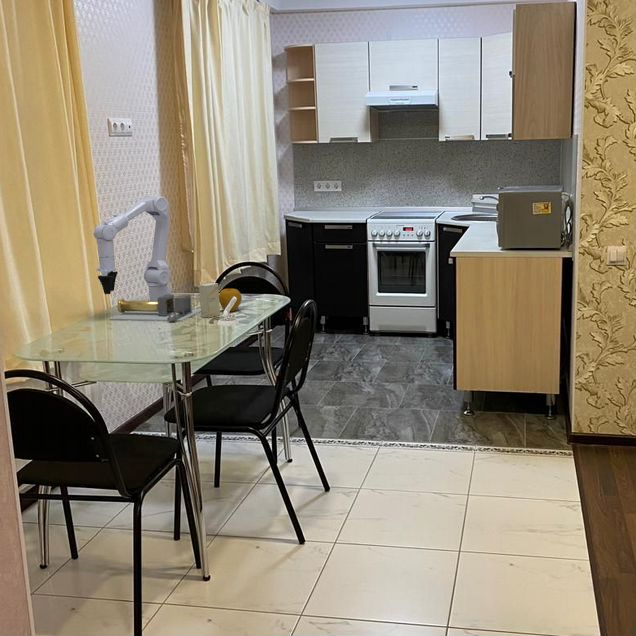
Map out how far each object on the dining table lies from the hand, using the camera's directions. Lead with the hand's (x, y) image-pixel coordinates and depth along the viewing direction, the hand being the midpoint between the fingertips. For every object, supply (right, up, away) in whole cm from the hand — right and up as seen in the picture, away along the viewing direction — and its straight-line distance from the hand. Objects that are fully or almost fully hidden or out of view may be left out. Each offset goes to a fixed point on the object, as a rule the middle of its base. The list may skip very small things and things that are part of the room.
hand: (109, 292), depth 313 cm
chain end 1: (+23, -7, +3) cm, 24 cm away
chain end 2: (+28, -9, -6) cm, 30 cm away
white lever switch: (+47, -12, -19) cm, 52 cm away
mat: (+18, -9, +1) cm, 20 cm away
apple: (+46, -7, +4) cm, 46 cm away
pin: (+13, -8, +2) cm, 15 cm away
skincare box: (+39, -9, -4) cm, 40 cm away
